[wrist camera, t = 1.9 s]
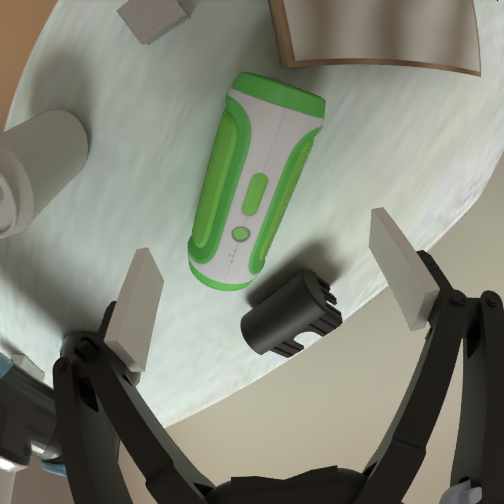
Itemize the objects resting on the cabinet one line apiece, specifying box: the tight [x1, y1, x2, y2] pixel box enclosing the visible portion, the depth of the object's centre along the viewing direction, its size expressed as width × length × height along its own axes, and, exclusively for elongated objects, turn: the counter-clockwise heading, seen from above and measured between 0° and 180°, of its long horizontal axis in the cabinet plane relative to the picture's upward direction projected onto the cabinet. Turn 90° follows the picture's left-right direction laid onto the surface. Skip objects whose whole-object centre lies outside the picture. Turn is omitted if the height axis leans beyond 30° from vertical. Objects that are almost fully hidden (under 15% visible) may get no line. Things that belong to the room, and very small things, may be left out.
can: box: [0, 109, 88, 239], centre depth 17 cm, size 8×8×12 cm
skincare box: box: [11, 354, 45, 382], centre depth 42 cm, size 8×6×15 cm
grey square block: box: [117, 0, 190, 45], centre depth 15 cm, size 4×4×2 cm
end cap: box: [240, 269, 342, 358], centre depth 33 cm, size 10×7×7 cm
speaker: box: [188, 72, 325, 291], centre depth 23 cm, size 18×7×8 cm, turn 163°
